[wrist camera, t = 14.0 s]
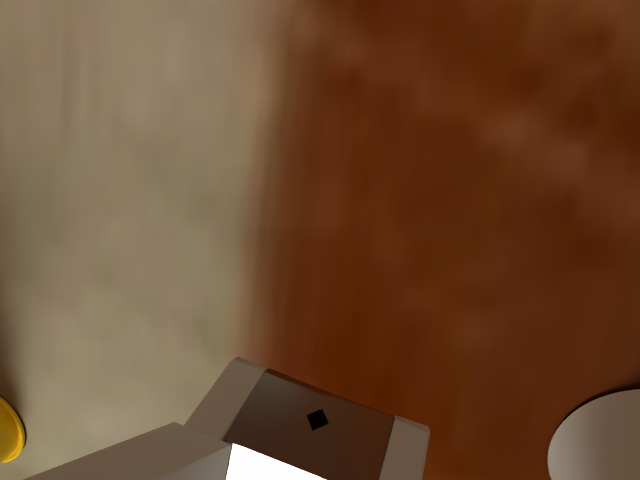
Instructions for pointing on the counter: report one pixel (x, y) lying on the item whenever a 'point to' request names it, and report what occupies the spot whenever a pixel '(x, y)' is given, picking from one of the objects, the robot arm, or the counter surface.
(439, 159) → the counter surface
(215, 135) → the counter surface
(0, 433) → the stacking cups
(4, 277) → the counter surface
